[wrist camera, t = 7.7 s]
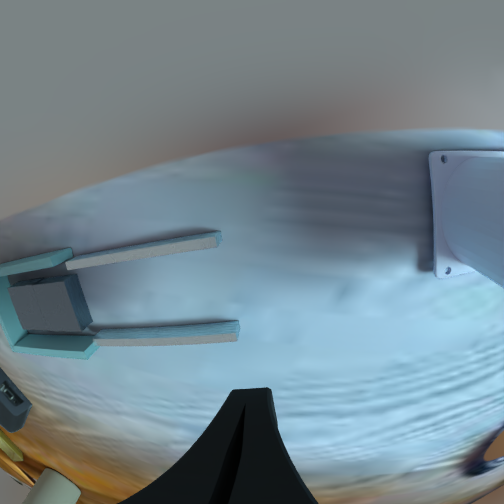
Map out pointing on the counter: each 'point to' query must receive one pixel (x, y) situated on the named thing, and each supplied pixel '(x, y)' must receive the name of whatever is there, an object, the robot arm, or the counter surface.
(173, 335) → the slot guide
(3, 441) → the saucer
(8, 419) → the external hard drive
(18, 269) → the tray
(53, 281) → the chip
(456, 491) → the counter surface
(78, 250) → the counter surface
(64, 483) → the travel mug
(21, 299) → the block
